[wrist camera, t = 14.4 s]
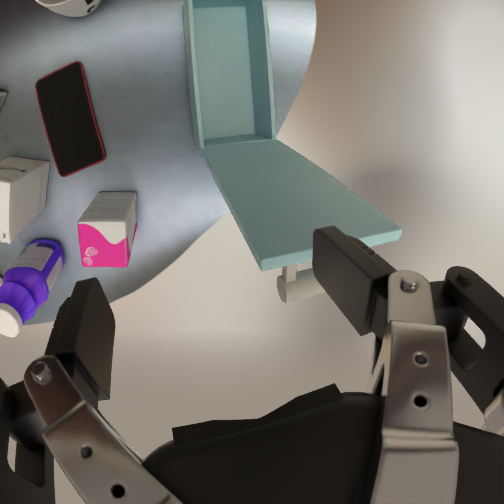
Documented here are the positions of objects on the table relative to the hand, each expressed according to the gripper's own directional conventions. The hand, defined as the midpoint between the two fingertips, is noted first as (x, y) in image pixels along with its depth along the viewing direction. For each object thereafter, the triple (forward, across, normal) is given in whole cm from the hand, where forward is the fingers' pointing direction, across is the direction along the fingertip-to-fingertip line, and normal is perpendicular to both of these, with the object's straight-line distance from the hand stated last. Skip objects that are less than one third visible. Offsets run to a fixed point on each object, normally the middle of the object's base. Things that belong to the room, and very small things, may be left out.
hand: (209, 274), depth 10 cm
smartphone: (+32, +14, -8) cm, 36 cm away
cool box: (+32, -7, -10) cm, 35 cm away
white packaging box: (+32, +23, -1) cm, 40 cm away
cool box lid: (+14, -7, +1) cm, 15 cm away
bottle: (+32, +24, +11) cm, 41 cm away
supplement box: (+32, +10, +7) cm, 34 cm away
